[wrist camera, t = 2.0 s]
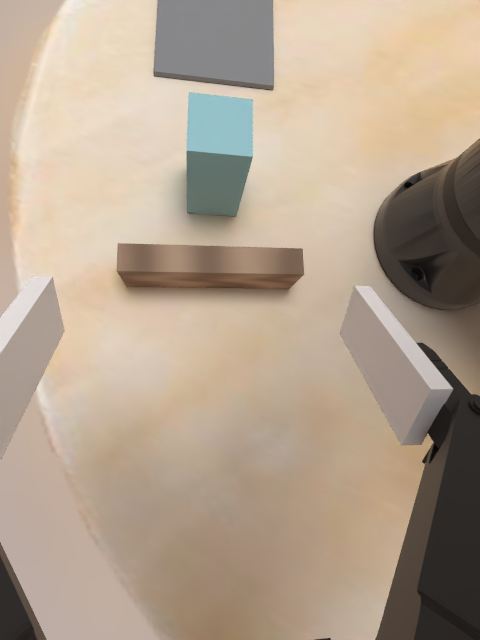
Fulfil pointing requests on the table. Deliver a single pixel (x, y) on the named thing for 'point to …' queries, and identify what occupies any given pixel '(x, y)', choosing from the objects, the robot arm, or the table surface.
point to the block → (218, 152)
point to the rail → (208, 266)
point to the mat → (216, 41)
